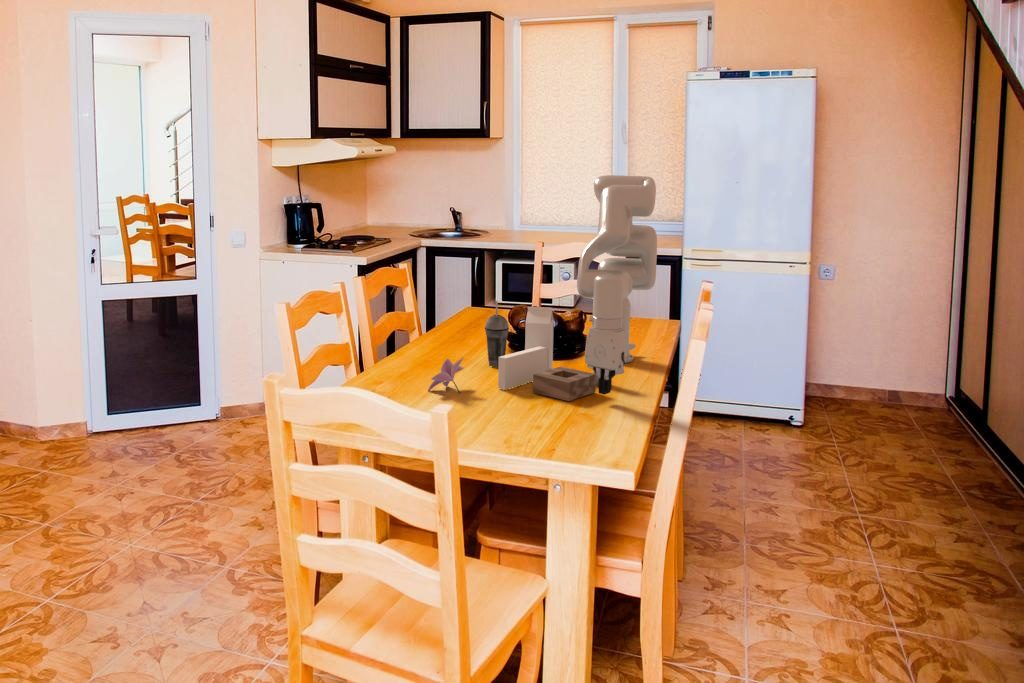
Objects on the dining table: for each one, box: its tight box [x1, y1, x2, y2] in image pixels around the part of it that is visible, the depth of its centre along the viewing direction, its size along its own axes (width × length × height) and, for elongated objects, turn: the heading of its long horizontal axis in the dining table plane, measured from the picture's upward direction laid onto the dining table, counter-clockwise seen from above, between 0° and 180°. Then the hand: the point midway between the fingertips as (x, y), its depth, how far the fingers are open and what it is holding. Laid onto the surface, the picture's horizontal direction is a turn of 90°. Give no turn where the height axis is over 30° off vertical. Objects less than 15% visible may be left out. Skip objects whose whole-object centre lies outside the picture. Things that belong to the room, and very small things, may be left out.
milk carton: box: [524, 306, 555, 371], centre depth 261 cm, size 7×7×19 cm
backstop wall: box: [497, 346, 547, 391], centre depth 248 cm, size 18×2×9 cm, turn 140°
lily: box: [427, 357, 465, 394], centre depth 239 cm, size 12×12×10 cm
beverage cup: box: [484, 300, 510, 368], centre depth 266 cm, size 7×7×20 cm
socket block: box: [532, 366, 597, 402], centre depth 239 cm, size 12×12×5 cm
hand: (604, 392), depth 231 cm, fingers closed
